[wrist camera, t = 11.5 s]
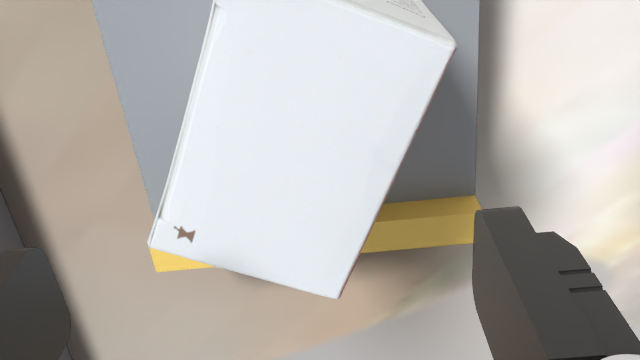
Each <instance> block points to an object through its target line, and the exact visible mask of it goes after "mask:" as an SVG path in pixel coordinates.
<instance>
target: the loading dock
mask: <svg viewBox="0 0 640 360" xmlns="http://www.w3.org/2000/svg"><path fill="white" fill-rule="evenodd" d="M91 1H92V4H93V8H94V11H95V15H96V18H97V22H98V25H99V29H100V32H101V36H102V39H103V43H104V46H105V50H106V53H107V57H108V60H109V64H110V67H111V71H112V74H113V78H114V81H115V85H116V88H117V92H118V95H119V98H120V102H121V105H122V109H123V112H124V116H125V119H126V123H127V126H128V130H129V133H130V137H131V140H132V144H133V147H134V151H135V154H136V158H137V161H138V165H139V168H140V172H141V175H142V179H143V182H144V186H145V189H146V193H147V196H148V199H149V203H150V206H151V210H152V213H153V217H154V220H155V217H156V214H157V211H158V208H159V205H160V202H161V198H162V195H163V192H164V189H165V185H166V182H167V178H168V175H169V171H170V167H171V163H172V160H173V156H174V152H175V149H176V145H177V141H178V138H179V134H180V130H181V126H182V123H183V119H184V115H185V111H186V107H187V103H188V100H189V96H190V92H191V88H192V84H193V81H194V77H195V73H196V69H197V65H198V61H199V58H200V54H201V50H202V46H203V42H204V37H205V33H206V29H207V25H208V21H209V17H210V13H211V8H212V3H213V0H91ZM421 1H422V2H423V3H424V4H425V5H426V7H427V8H428V9H429V11H430V12H431V13H432V14H433V15H434V16H435V17H436V19H437V20H438V21H439V22H440V23H441V24H442V26H443V27H444V28H445V29H446V30H447V31H448V33H449V34H450V35H451V36H452V37H453V39H454V40H455V41H456V44H457V49H456V51H455V53H454V55H453V57H452V59H451V61H450V63H449V65H448V67H447V69H446V71H445V73H444V76H443V78H442V80H441V82H440V84H439V86H438V88H437V91H436V93H435V95H434V97H433V99H432V101H431V103H430V106H429V108H428V110H427V112H426V114H425V116H424V118H423V120H422V122H421V125H420V127H419V129H418V131H417V133H416V135H415V137H414V139H413V141H412V144H411V146H410V148H409V150H408V152H407V154H406V157H405V159H404V161H403V163H402V165H401V167H400V170H399V172H398V174H397V176H396V178H395V180H394V182H393V184H392V187H391V189H390V191H389V193H388V195H387V197H386V199H385V202H384V204H383V206H382V208H381V210H380V212H379V215H378V217H377V219H376V221H375V223H374V225H373V227H372V229H371V232H370V234H369V236H368V238H367V240H366V242H365V244H364V246H363V249H362V251H361V253H370V252H381V251H392V250H403V249H414V248H425V247H435V246H446V245H457V244H468V243H473V237H474V217H475V213H476V211H477V210H482V208H481V206H480V204H479V202H478V200H477V198H476V196H475V173H476V130H477V87H478V44H479V1H480V0H421ZM149 249H150V252H151V256H152V259H153V262H154V266H155V269H156V272H164V271H174V270H185V269H196V268H207V267H216V266H212V265H209V264H205V263H202V262H198V261H194V260H191V259H187V258H184V257H181V256H178V255H174V254H170V253H167V252H163V251H160V250H157V249H153V248H150V247H149Z"/></svg>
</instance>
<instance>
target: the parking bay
mask: <svg viewBox="0 0 640 360" xmlns="http://www.w3.org/2000/svg"><path fill="white" fill-rule="evenodd" d="M14 249H25V247H24V245H23V242H22V240H21V238H20V235H19V233H18V231H17V228H16V226H15V223H14V221H13V219H12V216H11V214H10V212H9V209H8V207H7V205H6V202H5V200H4V198H3V195H2V193H1V190H0V251H3V250H14ZM59 360H72V358H71V355H70V353H69V351H68V348H67V346H66V347H65V349H64V351H63V352H62V354H61V356H60V358H59Z"/></svg>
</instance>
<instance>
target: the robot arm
mask: <svg viewBox="0 0 640 360" xmlns="http://www.w3.org/2000/svg"><path fill="white" fill-rule="evenodd" d="M472 285H473V294H474V301H475V305H476V310H477V313H478V316H479V319H480V322H481V324H482V327H483V330H484V333H485V336H486V339H487V341H488V344H489V347H490V350H491V353H492V356H493V358H494V360H640V341H639V340H638V338H637V337H636V335H635V334H634V332H633V331H632V329H631V328H630V326H629V325H628V323H627V322H626V320H625V319H624V317H623V316H622V314H621V313H620V311H619V310H618V308H617V307H616V305H615V304H614V302H613V301H612V299H611V298H610V296H609V295H608V293H607V292H606V290H603V288H602V285H601V283H600V282H599V280H598V279H597V277H596V276H595V274H594V273H591V268H590V266H589V265H588V263H587V262H586V260H585V259H584V257H583V256H582V254H581V253H580V252H579V250H578V249H577V248H576V247H575V246H574V245H572V244H571V243H569V242H568V241H566V240H565V239H563V238H562V237H561V236H559V235H558V234H556V233H555V232H542V233H536V232H535V231H534V229H533V227H532V225H531V224H530V222H529V220H528V219H527V217H526V215H525V213H524V212H523V210H522V209H521V208H520V207H518V206H517V207H506V208H495V209H483V210H477V211H476V213H475V217H474V237H473V270H472ZM70 327H71V323H70V314H69V311H68V308H67V305H66V303H65V300H64V298H63V295H62V293H61V291H60V288H59V286H58V283H57V281H56V278H55V276H54V273H53V271H52V269H51V266H50V264H49V261H48V259H47V257H46V255H45V253H44V252H43V251H42V250H41V249H39V248H25V249H14V250H3V251H0V360H59V358H60V356H61V354H62V352H63V351H64V349H65V347H66V345H67V342H68V339H69V335H70Z"/></svg>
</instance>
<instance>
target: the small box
mask: <svg viewBox="0 0 640 360" xmlns="http://www.w3.org/2000/svg"><path fill="white" fill-rule="evenodd" d="M456 49H457V44H456V41H455V40H454V39H453V37H452V36H451V35H450V34H449V33H448V31H447V30H446V29H445V28H444V27H443V26H442V24H441V23H440V22H439V21H438V20H437V19H436V17H435V16H434V15H433V14H432V13H431V12H430V11H429V9H428V8H427V7H426V5H425V4H424V3H423V2H422V1H421V0H213V3H212V8H211V13H210V17H209V21H208V25H207V29H206V33H205V37H204V42H203V46H202V50H201V54H200V58H199V61H198V65H197V69H196V73H195V77H194V81H193V84H192V88H191V92H190V96H189V100H188V103H187V107H186V111H185V115H184V119H183V123H182V126H181V130H180V134H179V138H178V141H177V145H176V149H175V152H174V156H173V160H172V163H171V167H170V171H169V175H168V178H167V182H166V185H165V189H164V192H163V195H162V198H161V202H160V205H159V208H158V211H157V214H156V217H155V221H154V224H153V227H152V230H151V233H150V236H149V238H148V242H147V244H148V246H149V247H150V248H153V249H157V250H160V251H163V252H167V253H170V254H174V255H178V256H181V257H184V258H187V259H191V260H194V261H198V262H202V263H205V264H209V265H212V266H216V267H219V268H223V269H227V270H230V271H234V272H237V273H241V274H244V275H248V276H252V277H255V278H259V279H263V280H266V281H270V282H273V283H277V284H280V285H284V286H287V287H291V288H294V289H298V290H302V291H306V292H309V293H313V294H317V295H321V296H326V297H328V298H331V299H339V298H340V297H341V294H342V292H343V289H344V287H345V285H346V283H347V281H348V279H349V277H350V275H351V273H352V271H353V268H354V266H355V264H356V262H357V260H358V257H359V255H360V253H361V251H362V249H363V246H364V244H365V242H366V240H367V238H368V236H369V234H370V232H371V229H372V227H373V225H374V223H375V221H376V219H377V217H378V215H379V212H380V210H381V208H382V206H383V204H384V202H385V199H386V197H387V195H388V193H389V191H390V189H391V187H392V184H393V182H394V180H395V178H396V176H397V174H398V172H399V170H400V167H401V165H402V163H403V161H404V159H405V157H406V154H407V152H408V150H409V148H410V146H411V144H412V141H413V139H414V137H415V135H416V133H417V131H418V129H419V127H420V125H421V122H422V120H423V118H424V116H425V114H426V112H427V110H428V108H429V106H430V103H431V101H432V99H433V97H434V95H435V93H436V91H437V88H438V86H439V84H440V82H441V80H442V78H443V76H444V73H445V71H446V69H447V67H448V65H449V63H450V61H451V59H452V57H453V55H454V53H455V51H456Z"/></svg>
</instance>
